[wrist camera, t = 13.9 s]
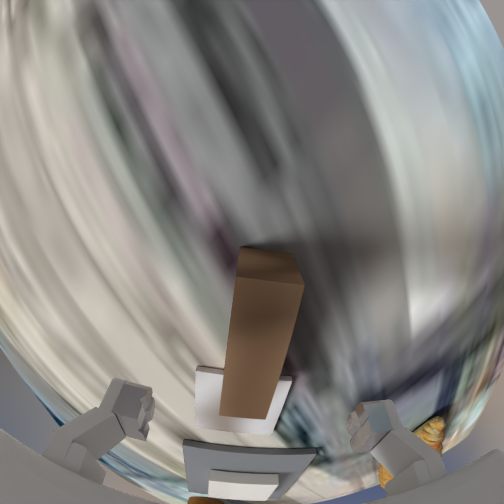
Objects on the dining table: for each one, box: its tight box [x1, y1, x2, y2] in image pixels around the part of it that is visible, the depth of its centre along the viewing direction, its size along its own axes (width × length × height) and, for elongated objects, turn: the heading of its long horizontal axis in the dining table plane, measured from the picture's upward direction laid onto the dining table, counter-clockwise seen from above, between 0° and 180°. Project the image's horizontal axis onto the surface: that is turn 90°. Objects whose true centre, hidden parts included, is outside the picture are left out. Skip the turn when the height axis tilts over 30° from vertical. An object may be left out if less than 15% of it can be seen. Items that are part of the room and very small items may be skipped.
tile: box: [208, 470, 279, 501], centre depth 24 cm, size 2×8×8 cm
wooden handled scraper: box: [195, 247, 305, 435], centre depth 16 cm, size 7×18×4 cm, turn 172°
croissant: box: [378, 416, 446, 489], centre depth 23 cm, size 21×10×8 cm, turn 5°
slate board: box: [183, 439, 317, 499], centre depth 25 cm, size 18×14×1 cm
